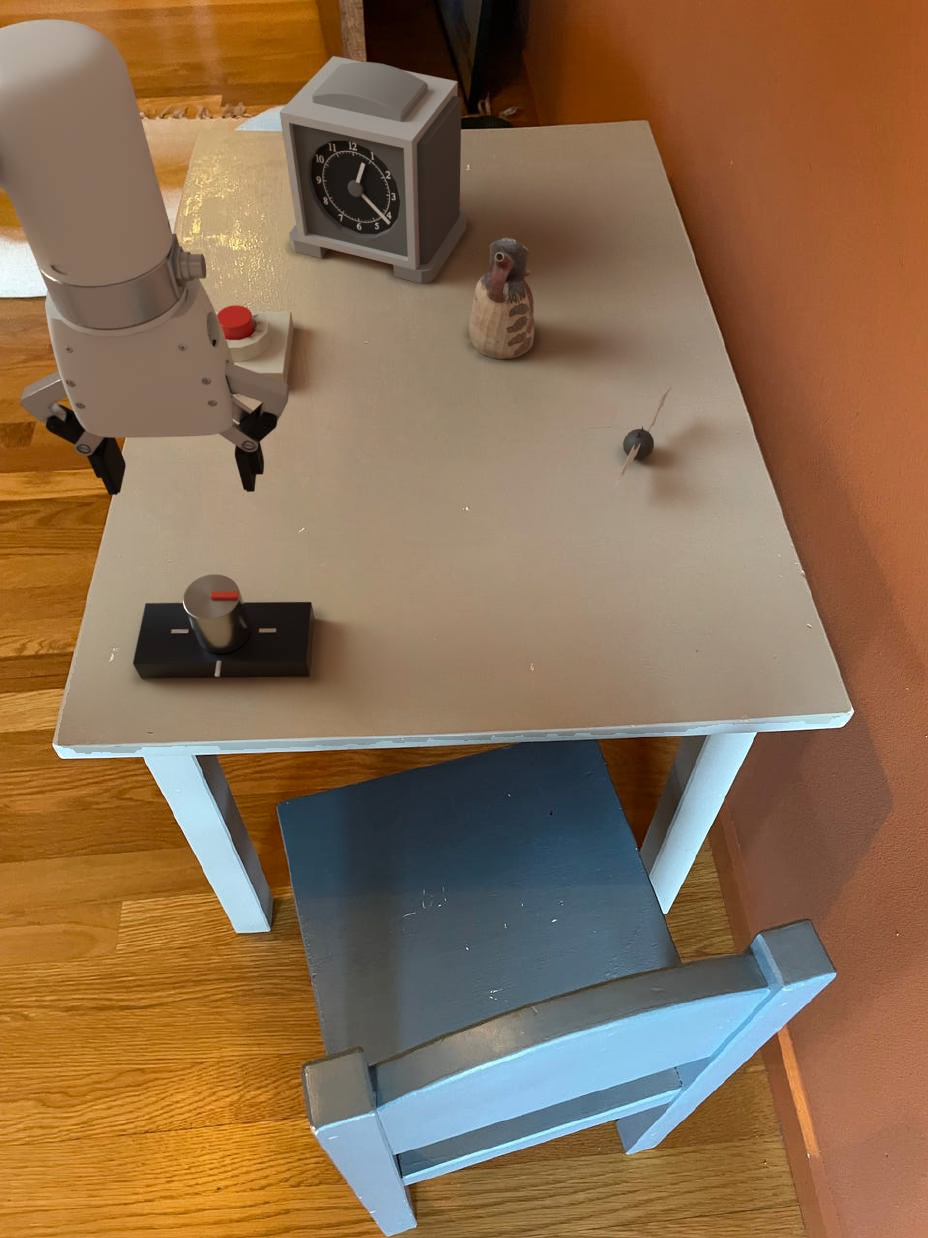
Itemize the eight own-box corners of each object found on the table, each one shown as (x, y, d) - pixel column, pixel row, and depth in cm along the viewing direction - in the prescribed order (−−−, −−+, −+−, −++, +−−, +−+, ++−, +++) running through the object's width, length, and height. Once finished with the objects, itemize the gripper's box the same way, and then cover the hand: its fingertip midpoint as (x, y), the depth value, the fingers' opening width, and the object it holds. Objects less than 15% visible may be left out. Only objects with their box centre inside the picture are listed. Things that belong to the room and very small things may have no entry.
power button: (217, 341, 94) (214, 327, 92) (222, 318, 96) (218, 304, 94) (252, 341, 94) (249, 327, 92) (256, 318, 96) (253, 304, 94)
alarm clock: (287, 249, 108) (261, 90, 93) (333, 192, 115) (317, 34, 100) (429, 285, 105) (427, 125, 90) (469, 223, 112) (473, 66, 97)
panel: (138, 693, 75) (128, 676, 72) (155, 607, 79) (147, 589, 77) (308, 691, 75) (304, 674, 73) (316, 605, 80) (312, 587, 77)
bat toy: (675, 413, 94) (686, 377, 90) (622, 510, 87) (630, 476, 83) (648, 403, 95) (657, 368, 91) (593, 499, 87) (600, 464, 83)
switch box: (190, 389, 95) (180, 358, 91) (203, 327, 100) (195, 296, 97) (286, 389, 95) (280, 358, 92) (294, 327, 101) (288, 296, 97)
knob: (193, 654, 74) (177, 617, 69) (200, 609, 76) (186, 571, 72) (247, 653, 74) (235, 617, 69) (253, 609, 76) (241, 571, 72)
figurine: (544, 331, 101) (555, 232, 91) (516, 368, 97) (524, 270, 87) (487, 310, 103) (492, 212, 93) (457, 347, 99) (459, 248, 89)
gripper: (270, 234, 55) (306, 439, 69) (-23, 237, 54) (74, 444, 68) (261, 314, 50) (301, 515, 65) (-57, 319, 50) (54, 521, 64)
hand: (185, 478), depth 66 cm, fingers open, 9 cm apart
